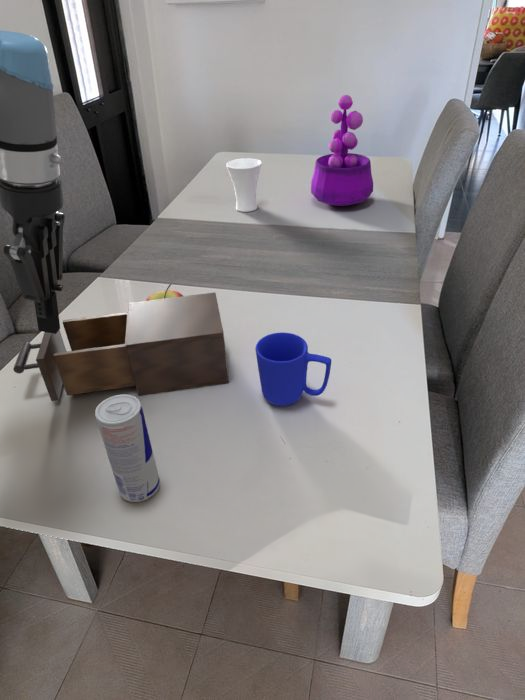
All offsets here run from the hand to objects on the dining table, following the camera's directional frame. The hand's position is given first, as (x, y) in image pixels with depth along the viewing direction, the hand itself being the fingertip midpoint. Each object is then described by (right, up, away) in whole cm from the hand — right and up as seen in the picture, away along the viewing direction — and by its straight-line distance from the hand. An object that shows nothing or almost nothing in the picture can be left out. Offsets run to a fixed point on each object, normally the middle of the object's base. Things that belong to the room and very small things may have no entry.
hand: (49, 329), depth 79 cm
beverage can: (+15, -23, -7) cm, 28 cm away
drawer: (+1, -8, +13) cm, 15 cm away
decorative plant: (+57, +42, +80) cm, 107 cm away
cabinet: (+18, -6, +16) cm, 25 cm away
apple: (+14, +1, +26) cm, 29 cm away
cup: (+28, +40, +80) cm, 93 cm away
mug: (+38, -11, +7) cm, 40 cm away
